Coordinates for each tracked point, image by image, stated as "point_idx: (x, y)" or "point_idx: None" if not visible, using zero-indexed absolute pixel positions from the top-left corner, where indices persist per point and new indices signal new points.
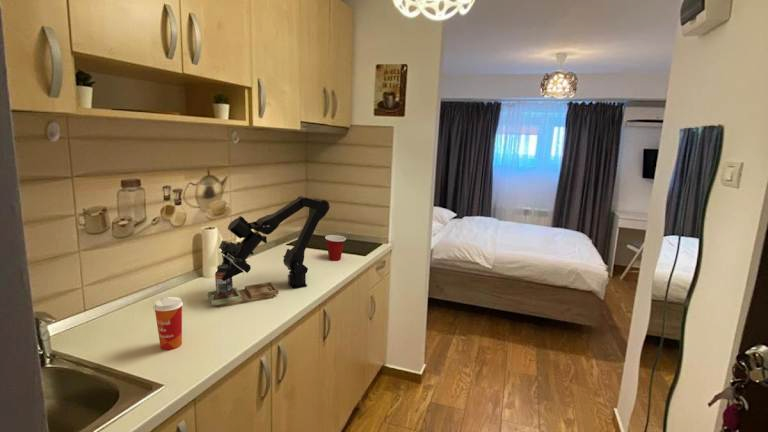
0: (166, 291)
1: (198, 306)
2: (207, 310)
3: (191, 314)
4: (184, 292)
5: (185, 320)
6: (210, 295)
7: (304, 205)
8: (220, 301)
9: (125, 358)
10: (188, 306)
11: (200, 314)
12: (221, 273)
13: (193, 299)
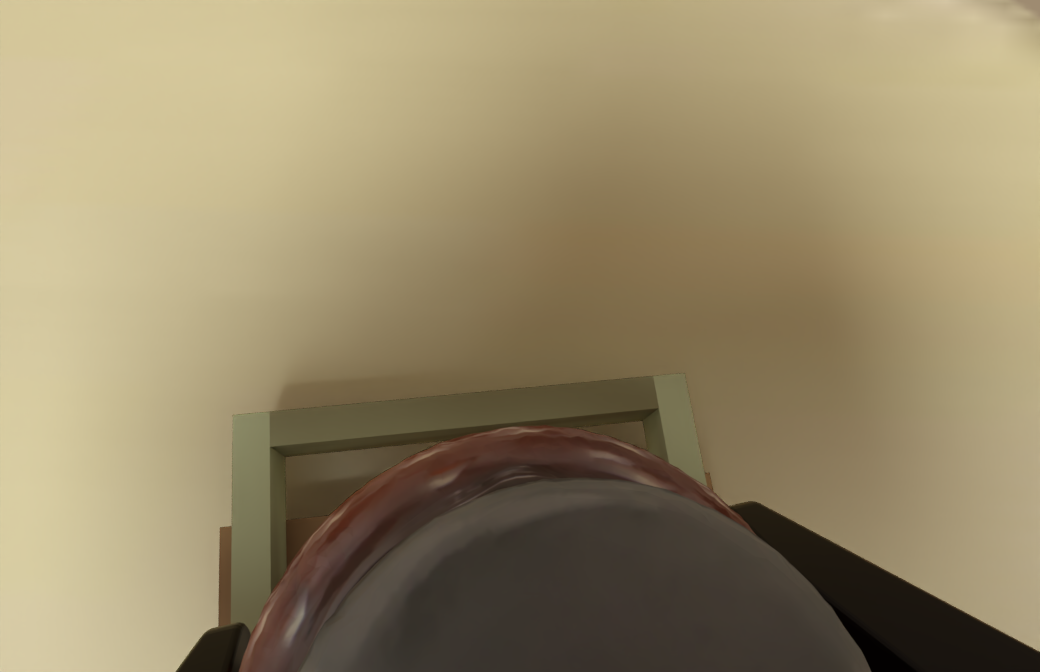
0: (969, 8)
1: (400, 281)
2: (210, 377)
3: (177, 200)
4: (911, 159)
5: (29, 138)
6: (512, 412)
7: None
8: (237, 555)
9: None
10: (447, 181)
11: (119, 292)
12: (291, 647)
13: (657, 238)
